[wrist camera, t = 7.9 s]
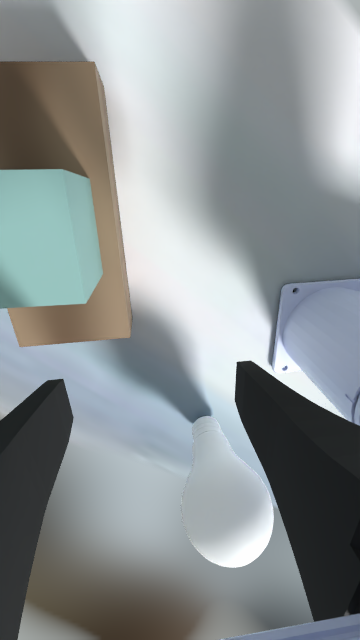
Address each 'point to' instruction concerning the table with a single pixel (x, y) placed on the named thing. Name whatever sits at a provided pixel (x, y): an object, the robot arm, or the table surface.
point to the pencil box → (77, 157)
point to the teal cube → (47, 239)
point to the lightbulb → (224, 501)
